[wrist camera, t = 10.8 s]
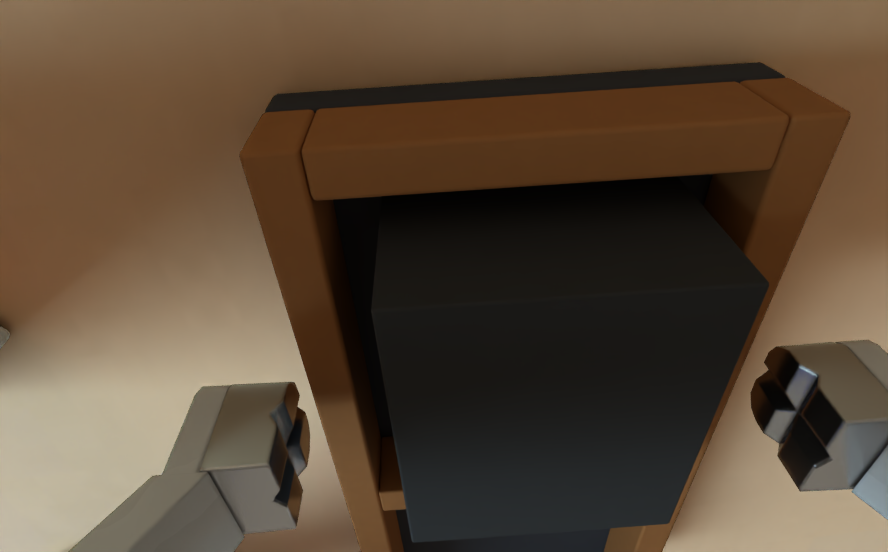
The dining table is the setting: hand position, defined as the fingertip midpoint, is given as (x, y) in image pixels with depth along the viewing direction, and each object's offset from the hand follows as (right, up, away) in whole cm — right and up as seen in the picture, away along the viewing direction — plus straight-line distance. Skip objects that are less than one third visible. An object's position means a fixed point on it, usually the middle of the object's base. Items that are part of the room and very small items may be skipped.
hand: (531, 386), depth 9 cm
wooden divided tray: (0, -2, +5) cm, 5 cm away
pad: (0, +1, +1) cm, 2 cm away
